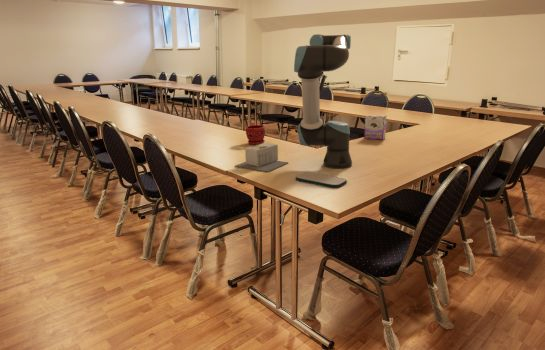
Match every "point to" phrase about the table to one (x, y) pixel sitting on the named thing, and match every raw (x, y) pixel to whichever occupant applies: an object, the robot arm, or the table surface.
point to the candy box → (375, 127)
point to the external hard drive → (321, 180)
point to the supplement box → (261, 154)
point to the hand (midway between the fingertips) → (314, 104)
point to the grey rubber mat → (263, 166)
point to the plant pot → (255, 134)
